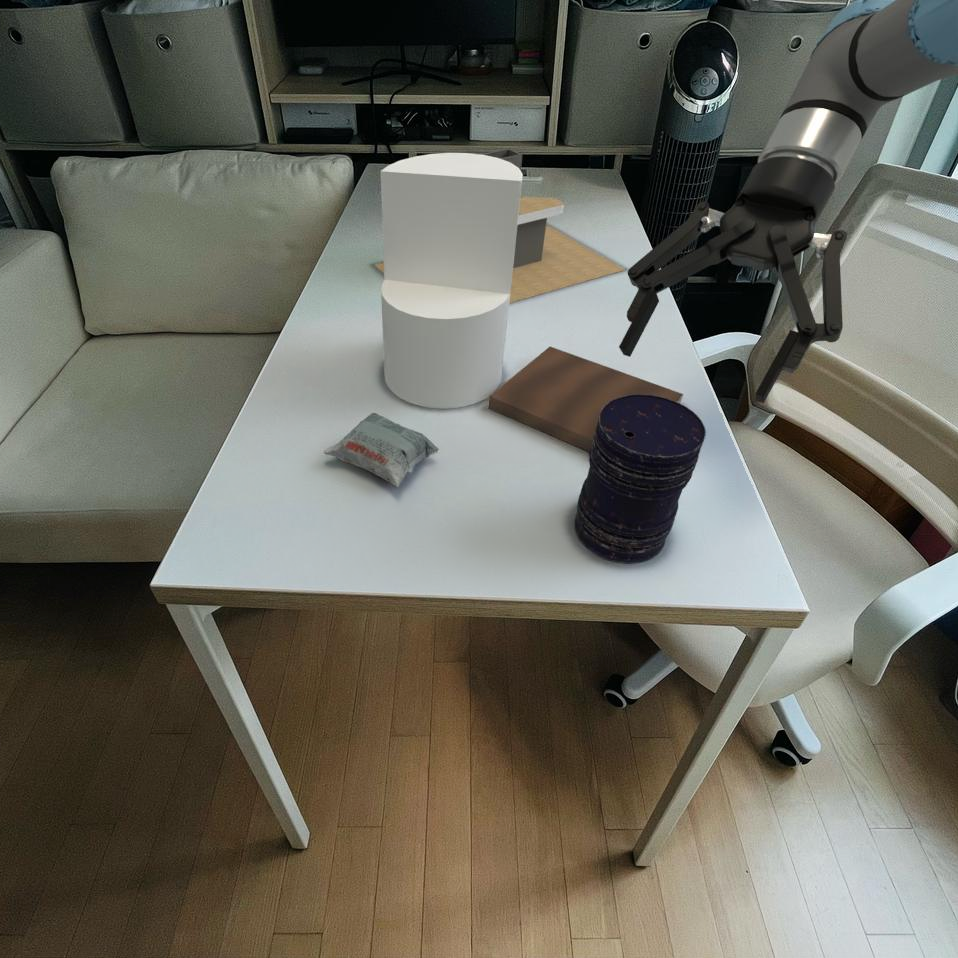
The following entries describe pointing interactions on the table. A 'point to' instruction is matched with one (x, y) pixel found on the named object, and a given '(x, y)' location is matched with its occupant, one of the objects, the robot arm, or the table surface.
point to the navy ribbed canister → (637, 476)
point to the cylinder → (447, 275)
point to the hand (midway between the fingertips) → (688, 374)
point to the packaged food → (383, 448)
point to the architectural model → (546, 248)
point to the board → (568, 395)
